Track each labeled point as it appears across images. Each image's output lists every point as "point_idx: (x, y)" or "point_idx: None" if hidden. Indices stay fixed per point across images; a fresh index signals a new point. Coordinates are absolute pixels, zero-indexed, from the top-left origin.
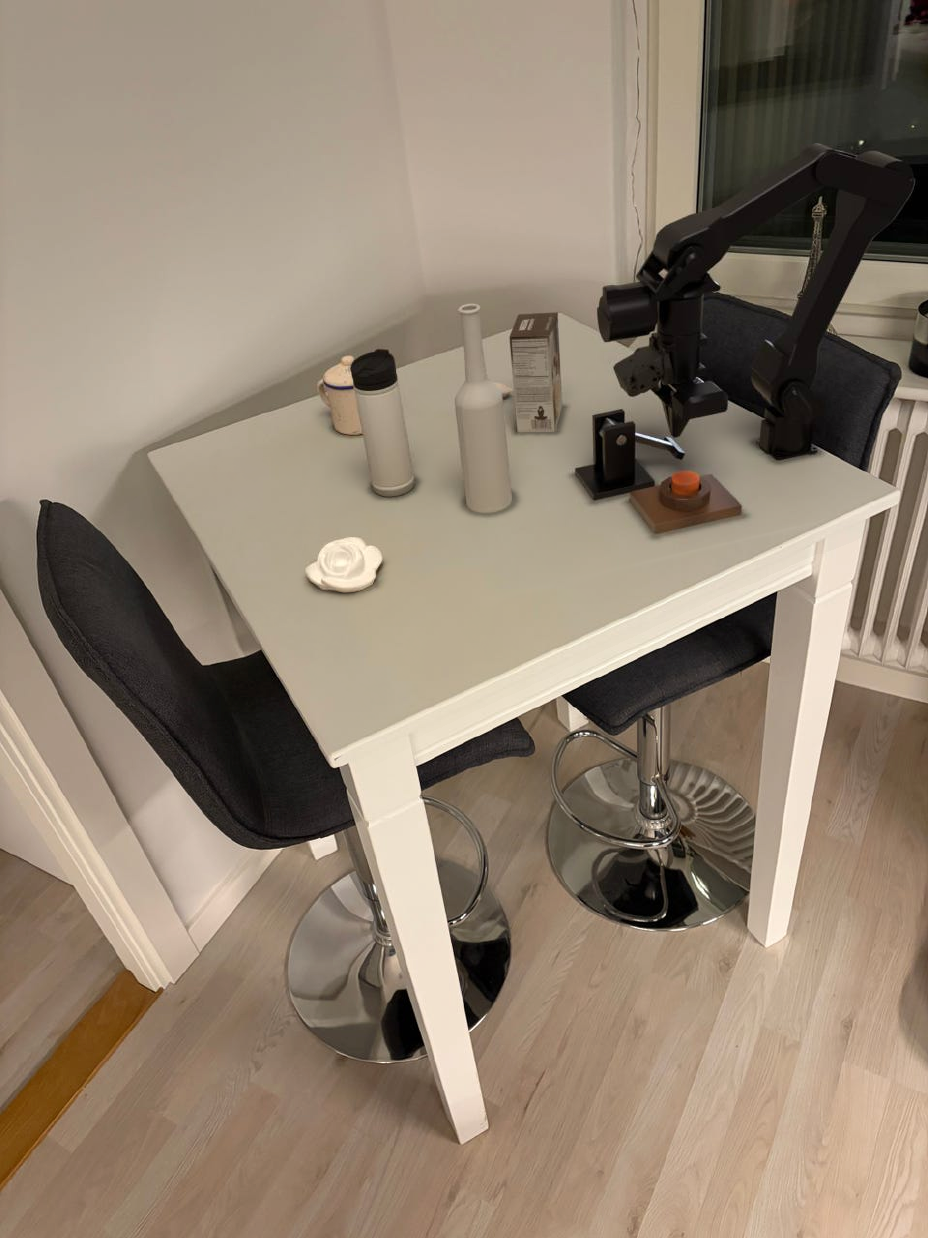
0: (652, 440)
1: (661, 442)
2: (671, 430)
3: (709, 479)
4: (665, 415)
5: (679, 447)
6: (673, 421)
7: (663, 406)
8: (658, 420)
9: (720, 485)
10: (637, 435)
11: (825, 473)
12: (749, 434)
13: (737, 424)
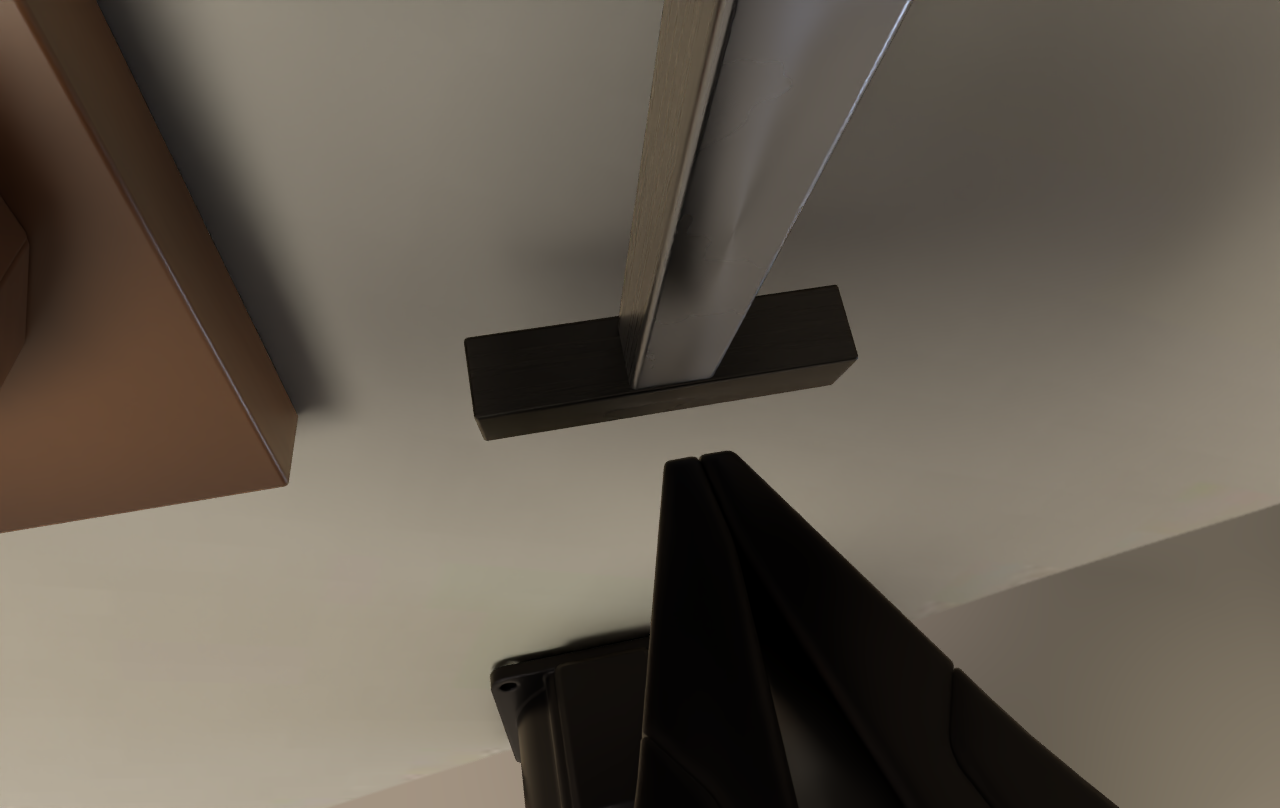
0: (662, 245)
1: (644, 325)
2: (697, 524)
3: (176, 463)
4: (909, 633)
5: (614, 417)
6: (645, 714)
7: (1026, 778)
8: (1254, 297)
9: (59, 511)
10: (730, 8)
11: (343, 758)
12: None
13: (896, 583)
